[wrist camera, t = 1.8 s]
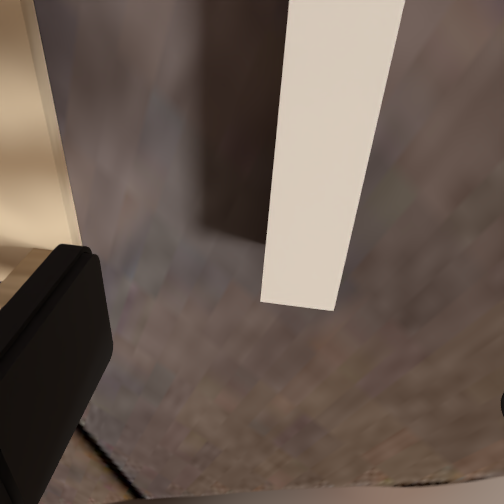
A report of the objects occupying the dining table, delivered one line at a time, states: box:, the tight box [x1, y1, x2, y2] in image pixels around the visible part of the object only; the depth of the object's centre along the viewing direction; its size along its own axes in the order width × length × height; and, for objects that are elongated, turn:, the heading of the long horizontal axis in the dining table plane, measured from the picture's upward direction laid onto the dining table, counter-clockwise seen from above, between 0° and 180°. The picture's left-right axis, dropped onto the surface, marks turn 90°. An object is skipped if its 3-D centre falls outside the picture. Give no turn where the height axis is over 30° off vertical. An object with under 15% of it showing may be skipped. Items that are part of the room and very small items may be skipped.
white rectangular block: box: [260, 0, 405, 311], centre depth 18 cm, size 16×4×5 cm, turn 177°
